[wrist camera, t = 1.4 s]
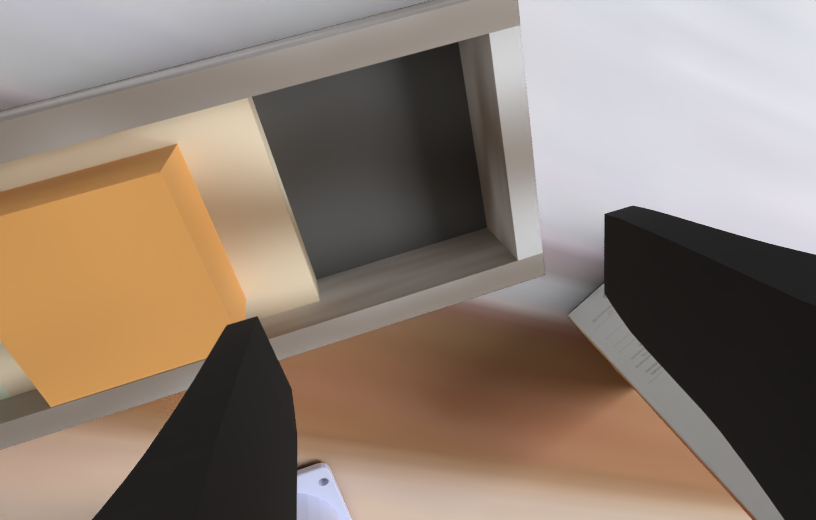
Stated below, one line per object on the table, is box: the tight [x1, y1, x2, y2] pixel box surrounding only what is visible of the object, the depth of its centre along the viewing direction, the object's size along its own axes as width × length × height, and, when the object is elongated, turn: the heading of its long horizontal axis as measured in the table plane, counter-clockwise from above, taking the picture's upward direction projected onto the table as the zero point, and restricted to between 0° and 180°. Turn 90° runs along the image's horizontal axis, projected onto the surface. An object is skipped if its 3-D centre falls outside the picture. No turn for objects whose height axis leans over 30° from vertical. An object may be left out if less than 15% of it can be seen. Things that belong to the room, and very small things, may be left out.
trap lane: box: [0, 0, 545, 450], centre depth 17 cm, size 10×36×4 cm, turn 103°
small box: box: [568, 284, 784, 520], centre depth 22 cm, size 8×6×13 cm
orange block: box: [0, 144, 246, 407], centre depth 16 cm, size 6×6×3 cm
